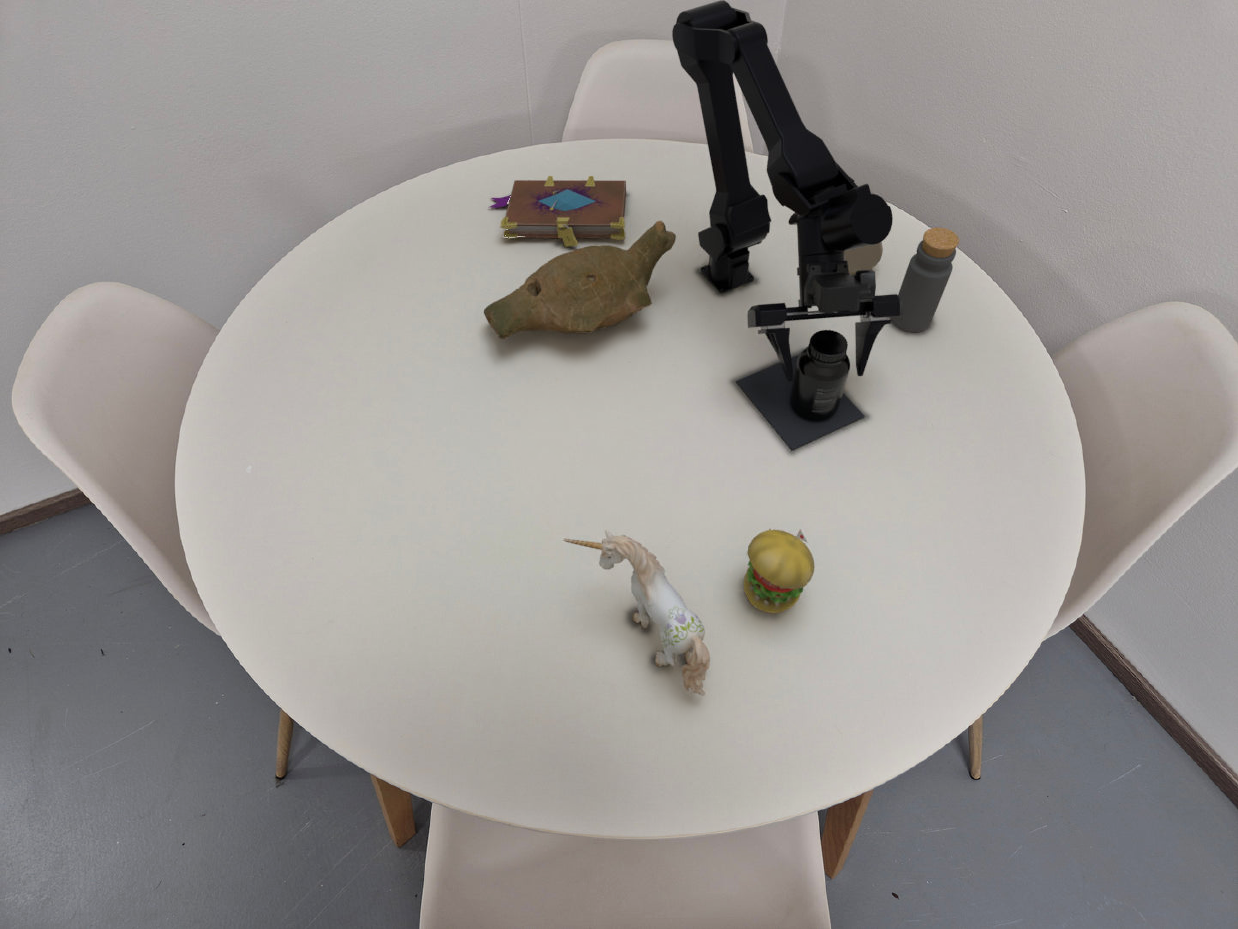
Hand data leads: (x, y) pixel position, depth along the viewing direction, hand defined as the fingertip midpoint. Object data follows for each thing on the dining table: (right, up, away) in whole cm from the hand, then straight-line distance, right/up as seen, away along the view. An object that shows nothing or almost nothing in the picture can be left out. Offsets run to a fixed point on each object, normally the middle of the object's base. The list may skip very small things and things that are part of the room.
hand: (825, 378), depth 100 cm
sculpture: (-32, +12, +19) cm, 39 cm away
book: (-38, +31, +33) cm, 59 cm away
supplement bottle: (0, -3, +7) cm, 7 cm away
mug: (+11, +23, +25) cm, 35 cm away
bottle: (+17, +11, +16) cm, 26 cm away
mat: (-2, -2, +8) cm, 8 cm away
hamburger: (-9, -26, -9) cm, 29 cm away
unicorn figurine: (-25, -32, -12) cm, 42 cm away
